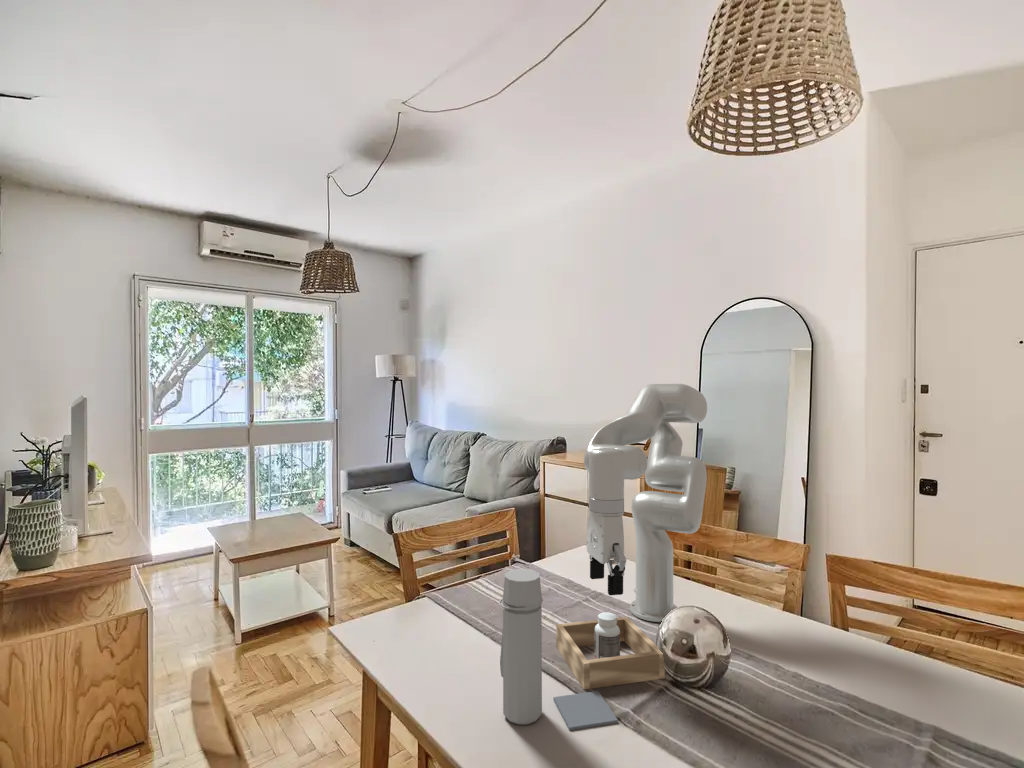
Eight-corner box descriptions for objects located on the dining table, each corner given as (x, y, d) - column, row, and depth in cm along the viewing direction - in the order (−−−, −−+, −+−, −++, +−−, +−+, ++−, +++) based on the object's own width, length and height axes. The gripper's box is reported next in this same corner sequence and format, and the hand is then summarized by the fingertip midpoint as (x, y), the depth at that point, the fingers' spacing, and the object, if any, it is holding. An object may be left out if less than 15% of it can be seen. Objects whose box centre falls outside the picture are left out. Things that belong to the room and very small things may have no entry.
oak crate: (556, 646, 117) (556, 624, 117) (626, 638, 121) (626, 616, 121) (583, 689, 100) (583, 663, 100) (664, 678, 104) (664, 653, 104)
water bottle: (552, 713, 93) (551, 574, 93) (521, 734, 87) (521, 586, 88) (516, 692, 99) (515, 562, 100) (485, 710, 94) (485, 573, 94)
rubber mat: (553, 699, 97) (553, 697, 97) (598, 693, 99) (598, 690, 99) (569, 730, 88) (569, 727, 88) (617, 722, 90) (617, 719, 90)
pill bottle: (625, 663, 110) (625, 617, 110) (607, 671, 107) (606, 623, 107) (607, 652, 115) (607, 608, 115) (589, 659, 112) (589, 614, 112)
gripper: (576, 499, 119) (575, 574, 118) (606, 515, 102) (605, 602, 101) (606, 498, 120) (605, 571, 120) (641, 513, 104) (640, 600, 103)
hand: (605, 586), depth 111 cm, fingers open, 9 cm apart
